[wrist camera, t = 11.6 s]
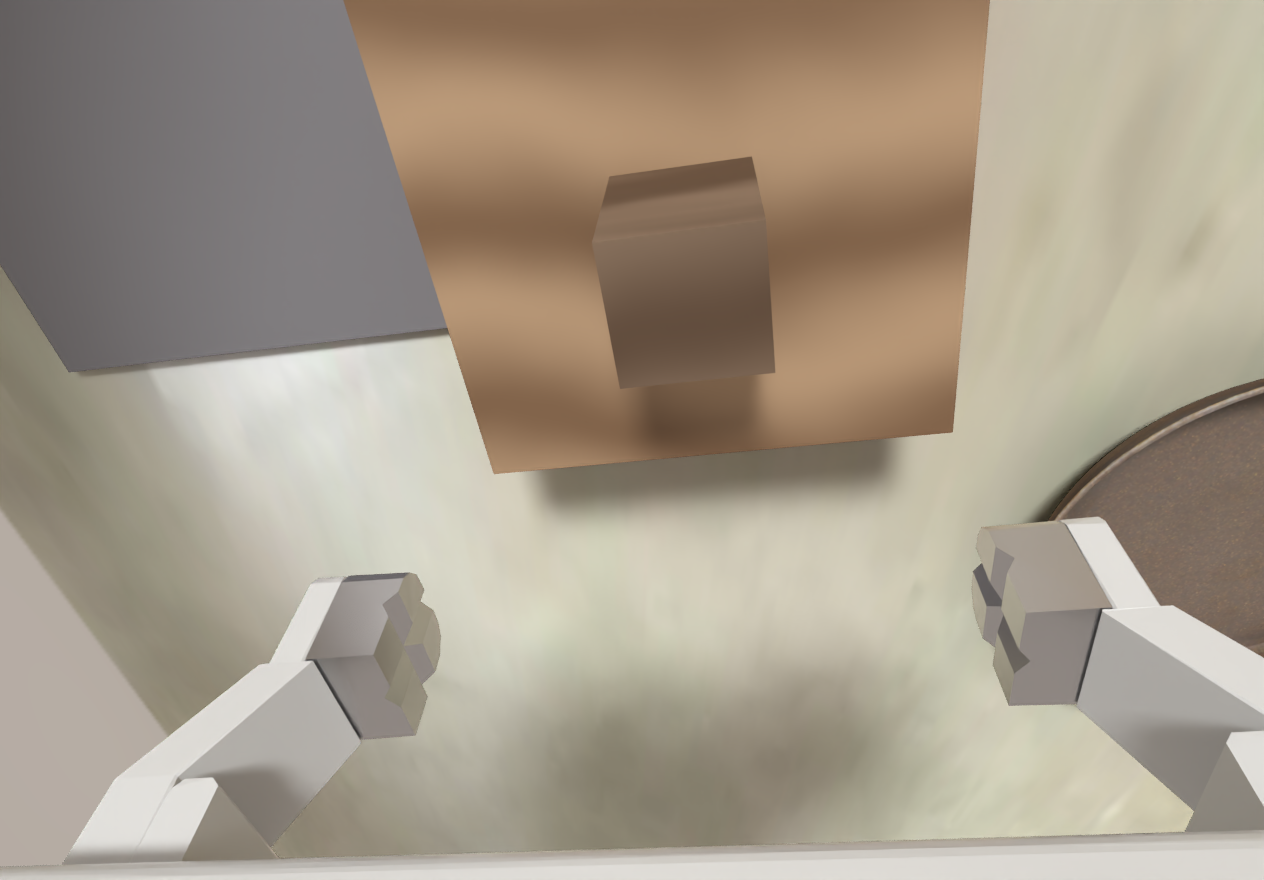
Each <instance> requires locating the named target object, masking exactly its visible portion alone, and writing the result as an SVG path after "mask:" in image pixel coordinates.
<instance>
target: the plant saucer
mask: <svg viewBox="0 0 1264 880" xmlns="http://www.w3.org/2000/svg"><path fill="white" fill-rule="evenodd" d="M1088 517H1100V518H1101V519H1103V520H1105V521H1106V522H1107V524H1108V526H1109V527H1110V529H1111V530H1112V532H1113V533H1114V535H1115V536H1116V538H1117V539H1118V541H1119V542H1120V544H1121V546H1122V547H1123V549H1124V550H1125V552H1126V553H1127V555H1128V556H1129V558H1130V559H1131V561H1132V563H1133V564H1134V566H1135V567H1136V569H1137V570H1138V572H1139V573H1140V575H1141V576H1142V578H1143V579H1144V581H1145V583H1146V584H1147V586H1148V587H1149V589H1150V590H1151V592H1152V593H1153V595H1154V596H1155V598H1156V600H1157V601H1158V603H1159V604H1160V606H1171V605H1173V606H1175V607H1177V608H1178V609H1180V610H1182V611H1184V612H1185V613H1187V614H1189V615H1191V616H1192V617H1194V618H1196V619H1197V620H1199V621H1201V622H1203V623H1204V624H1206V625H1208V626H1210V627H1211V628H1213V629H1215V630H1216V631H1218V632H1220V633H1222V634H1223V635H1225V636H1227V637H1229V638H1230V639H1232V640H1234V641H1236V642H1237V643H1239V644H1241V645H1242V646H1244V647H1246V648H1248V649H1249V650H1251V651H1253V652H1255V653H1256V654H1258V655H1260V656H1261V657H1263V658H1264V379H1260V380H1256V381H1253V382H1250V383H1246V384H1243V385H1239V386H1236V387H1232V388H1230V389H1227V390H1224V391H1221V392H1219V393H1216V394H1213V395H1210V396H1207V397H1205V398H1203V399H1200V400H1198V401H1196V402H1193V403H1191V404H1189V405H1186V406H1184V407H1182V408H1180V409H1178V410H1176V411H1174V412H1172V413H1170V414H1168V415H1166V416H1164V417H1162V418H1161V419H1159V420H1157V421H1155V422H1154V423H1152V424H1150V425H1149V426H1147V427H1145V428H1144V429H1142V430H1140V431H1139V432H1137V433H1136V434H1134V435H1132V436H1131V437H1129V438H1128V439H1127V440H1125V441H1124V442H1123V443H1121V444H1120V445H1119V446H1117V447H1116V448H1115V449H1113V450H1112V451H1111V452H1109V453H1108V454H1107V455H1106V456H1105V457H1104V458H1102V459H1101V460H1100V461H1099V462H1098V463H1097V464H1096V465H1094V466H1093V467H1092V468H1091V469H1090V470H1089V471H1088V472H1087V473H1086V474H1085V475H1084V476H1083V477H1082V478H1081V479H1080V480H1079V481H1078V482H1077V483H1076V484H1075V486H1074V487H1073V488H1072V489H1071V490H1070V491H1069V492H1068V494H1067V495H1066V496H1065V497H1064V499H1063V500H1062V501H1061V502H1060V504H1059V505H1058V506H1057V508H1056V509H1055V511H1054V512H1053V514H1052V515H1051V517H1050V518H1049V520H1048V521H1059V520H1066V519H1077V518H1088Z"/></svg>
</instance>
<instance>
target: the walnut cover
mask: <svg viewBox="0 0 1264 880" xmlns="http://www.w3.org/2000/svg"><path fill="white" fill-rule="evenodd" d="M343 1H344V4H345V8H346V11H347V14H348V17H349V20H350V23H351V26H352V30H353V33H354V36H355V39H356V42H357V45H358V48H359V52H360V55H361V58H362V61H363V64H364V67H365V70H366V74H367V77H368V80H369V83H370V86H371V89H372V92H373V96H374V99H375V102H376V105H377V108H378V111H379V114H380V118H381V121H382V124H383V127H384V130H385V133H386V136H387V140H388V143H389V146H390V149H391V152H392V155H393V158H394V162H395V165H396V168H397V171H398V174H399V177H400V180H401V184H402V187H403V190H404V193H405V196H406V199H407V202H408V206H409V209H410V212H411V215H412V218H413V221H414V224H415V228H416V231H417V234H418V237H419V240H420V243H421V246H422V250H423V253H424V256H425V259H426V262H427V265H428V268H429V272H430V275H431V278H432V281H433V284H434V287H435V290H436V294H437V297H438V300H439V303H440V306H441V309H442V312H443V316H444V319H445V322H446V325H447V328H448V331H449V334H450V338H451V341H452V344H453V347H454V350H455V353H456V356H457V360H458V363H459V366H460V369H461V372H462V375H463V378H464V382H465V385H466V388H467V391H468V394H469V397H470V400H471V404H472V407H473V410H474V413H475V416H476V419H477V422H478V426H479V429H480V432H481V435H482V438H483V441H484V444H485V448H486V451H487V454H488V457H489V460H490V463H491V466H492V470H493V473H494V474H499V473H510V472H521V471H532V470H543V469H555V468H566V467H577V466H588V465H599V464H610V463H621V462H632V461H643V460H654V459H665V458H676V457H687V456H698V455H709V454H720V453H731V452H742V451H753V450H764V449H775V448H786V447H797V446H808V445H819V444H830V443H841V442H852V441H863V440H874V439H885V438H896V437H907V436H918V435H929V434H940V433H951V432H953V423H954V411H955V400H956V388H957V376H958V365H959V353H960V341H961V330H962V318H963V307H964V295H965V283H966V272H967V260H968V248H969V237H970V225H971V213H972V202H973V190H974V178H975V167H976V155H977V143H978V132H979V120H980V109H981V97H982V85H983V74H984V62H985V50H986V39H987V27H988V15H989V4H990V0H343Z"/></svg>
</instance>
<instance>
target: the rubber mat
mask: <svg viewBox="0 0 1264 880" xmlns="http://www.w3.org/2000/svg"><path fill="white" fill-rule="evenodd" d="M0 265H1V267H2V268H3V270H4V271H5V273H6V274H7V276H8V278H9V279H10V281H11V282H12V284H13V285H14V287H15V288H16V290H17V292H18V293H19V295H20V296H21V298H22V299H23V301H24V303H25V304H26V306H27V307H28V309H29V310H30V312H31V314H32V315H33V317H34V318H35V320H36V321H37V323H38V325H39V326H40V328H41V329H42V331H43V332H44V334H45V336H46V337H47V339H48V340H49V342H50V343H51V345H52V346H53V348H54V350H55V351H56V353H57V354H58V356H59V357H60V359H61V361H62V362H63V364H64V365H65V367H66V368H67V370H68V372H76V371H85V370H93V369H102V368H110V367H119V366H127V365H136V364H144V363H153V362H161V361H170V360H179V359H187V358H196V357H204V356H213V355H221V354H230V353H238V352H247V351H255V350H264V349H272V348H281V347H289V346H298V345H306V344H315V343H323V342H332V341H340V340H349V339H357V338H366V337H374V336H383V335H391V334H400V333H408V332H417V331H425V330H434V329H443V328H447V325H446V322H445V319H444V316H443V312H442V309H441V306H440V303H439V300H438V297H437V294H436V290H435V287H434V284H433V281H432V278H431V275H430V272H429V268H428V265H427V262H426V259H425V256H424V253H423V250H422V246H421V243H420V240H419V237H418V234H417V231H416V228H415V224H414V221H413V218H412V215H411V212H410V209H409V206H408V202H407V199H406V196H405V193H404V190H403V187H402V184H401V180H400V177H399V174H398V171H397V168H396V165H395V162H394V158H393V155H392V152H391V149H390V146H389V143H388V140H387V136H386V133H385V130H384V127H383V124H382V121H381V118H380V114H379V111H378V108H377V105H376V102H375V99H374V96H373V92H372V89H371V86H370V83H369V80H368V77H367V74H366V70H365V67H364V64H363V61H362V58H361V55H360V52H359V48H358V45H357V42H356V39H355V36H354V33H353V30H352V26H351V23H350V20H349V17H348V14H347V11H346V8H345V4H344V1H343V0H0Z"/></svg>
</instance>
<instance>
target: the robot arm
mask: <svg viewBox="0 0 1264 880" xmlns="http://www.w3.org/2000/svg"><path fill="white" fill-rule="evenodd" d="M976 550H977V552H978V555H979V557H980V559H981V562H982V563H981V564H980V565H979V566H978V567H977V568H976V569H975V570H974V571H973V577H972V600H973V609H974V613H975V617H976V621H977V624H978V627H979V630H980V632H981V635H982V638H983V639H985V640H986V641H987V642H989V643H990V644H991V645H993V646H994V647H995V652H994V659H993V667H994V669H995V672H996V674H997V677H998V679H999V682H1000V685H1001V687H1002V690H1003V692H1004V695H1005V697H1006V700H1007V702H1008V705H1009V706H1015V705H1055V704H1077V708H1078V709H1079V710H1080V711H1081V712H1083V713H1084V714H1085V715H1086V716H1087V717H1088V718H1089V719H1091V720H1092V721H1093V722H1094V723H1095V724H1096V725H1097V726H1098V727H1100V728H1101V729H1102V730H1103V731H1104V732H1105V733H1106V734H1108V735H1109V736H1110V737H1111V738H1112V739H1113V740H1114V741H1115V742H1117V743H1118V744H1119V745H1120V746H1121V747H1122V748H1123V749H1124V750H1126V751H1127V752H1128V753H1129V754H1130V755H1131V756H1132V757H1134V758H1135V759H1136V760H1137V761H1138V762H1139V763H1140V764H1141V765H1143V766H1144V767H1145V768H1146V769H1147V770H1148V771H1149V772H1151V773H1152V774H1153V775H1154V776H1155V777H1156V778H1157V779H1158V780H1160V781H1161V782H1162V783H1163V784H1164V785H1165V786H1166V787H1167V788H1169V789H1170V790H1171V791H1172V792H1173V793H1174V794H1175V795H1177V796H1178V797H1179V798H1180V799H1181V800H1182V801H1183V802H1184V803H1186V804H1187V805H1188V806H1189V807H1190V808H1191V809H1192V810H1194V813H1193V815H1192V817H1191V819H1190V822H1189V824H1188V826H1187V828H1186V830H1185V832H1168V833H1134V834H1100V835H1065V836H1031V837H997V838H963V839H930V840H897V841H864V842H831V843H798V844H765V845H732V846H698V847H663V848H628V849H593V850H558V851H523V852H488V853H454V854H420V855H386V856H351V857H317V858H282V859H280V858H279V857H278V856H277V855H276V853H275V852H274V851H273V850H272V848H271V846H272V845H273V844H274V843H275V842H276V841H277V839H278V838H279V837H280V836H281V835H282V834H283V833H284V831H285V830H286V829H287V828H288V827H289V826H290V825H291V823H292V822H293V821H294V820H295V819H296V818H297V816H298V815H299V814H300V813H301V812H302V811H303V810H304V808H305V807H306V806H307V805H308V804H309V803H310V802H311V800H312V799H313V798H314V797H315V796H316V795H317V793H318V792H319V791H320V790H321V789H322V788H323V787H324V785H325V784H326V783H327V782H328V781H329V780H330V779H331V777H332V776H333V775H334V774H335V773H336V772H337V770H338V769H339V768H340V767H341V766H342V765H343V764H344V762H345V761H346V760H347V759H348V758H349V757H350V756H351V754H352V753H353V752H354V751H355V750H356V749H357V747H358V746H359V745H360V744H361V740H363V739H376V738H388V737H401V736H413V735H416V732H417V729H418V726H419V723H420V720H421V716H422V713H423V710H424V707H425V703H426V700H427V697H428V696H427V694H426V692H425V690H424V688H423V686H422V684H423V683H424V682H425V681H426V680H427V679H428V678H429V677H430V676H431V675H432V674H433V673H434V672H435V671H436V667H437V663H438V660H439V656H440V641H441V635H440V629H439V624H438V620H437V618H436V616H435V613H434V611H433V610H432V609H431V608H429V607H428V606H426V605H425V604H423V603H422V602H420V601H421V598H422V595H423V592H424V588H423V586H422V584H421V582H420V580H419V578H418V576H417V575H416V574H413V573H392V574H374V575H355V576H348V577H330V578H318V579H317V580H315V581H314V582H313V583H311V584H310V586H309V587H308V589H307V591H306V593H305V595H304V597H303V599H302V601H301V603H300V605H299V607H298V609H297V610H296V612H295V614H294V616H293V618H292V620H291V622H290V624H289V626H288V628H287V630H286V632H285V634H284V636H283V637H282V639H281V641H280V643H279V645H278V647H277V649H276V651H275V653H274V655H273V657H272V659H271V661H270V663H268V664H259V665H258V666H257V667H255V668H254V669H253V670H252V671H250V672H249V673H248V674H247V675H245V676H244V677H243V678H242V679H240V680H239V681H238V682H237V683H235V684H234V685H233V686H232V687H230V688H229V689H228V690H226V691H225V692H224V693H223V694H221V695H220V696H219V697H218V698H216V699H215V700H214V701H213V702H211V703H210V704H209V705H208V706H206V707H205V708H204V709H202V710H201V711H200V712H199V713H197V714H196V715H195V716H194V717H192V718H191V719H190V720H189V721H187V722H186V723H185V724H184V725H182V726H181V727H180V728H179V729H177V730H176V731H175V732H173V733H172V734H171V735H170V736H168V737H167V738H166V739H165V740H163V741H162V742H161V743H160V744H158V745H157V746H156V747H155V748H153V749H152V750H151V751H150V752H148V753H147V754H146V755H144V756H143V757H142V758H141V759H139V760H138V761H137V762H136V763H134V764H133V765H132V766H131V767H129V768H128V769H127V770H126V771H124V772H123V773H122V774H120V775H119V776H118V777H117V778H116V779H115V780H114V781H113V783H112V784H111V786H110V788H109V789H108V791H107V793H106V794H105V796H104V797H103V799H102V801H101V803H100V804H99V805H98V807H97V809H96V810H95V812H94V813H93V815H92V817H91V819H90V820H89V822H88V823H87V825H86V826H85V828H84V830H83V831H82V833H81V834H80V836H79V838H78V839H77V841H76V843H75V844H74V846H73V847H72V849H71V851H70V852H69V854H68V855H67V857H66V859H65V860H64V862H63V864H62V865H42V866H41V865H40V866H6V867H0V880H1264V658H1263V657H1261V656H1260V655H1258V654H1256V653H1255V652H1253V651H1251V650H1249V649H1248V648H1246V647H1244V646H1242V645H1241V644H1239V643H1237V642H1236V641H1234V640H1232V639H1230V638H1229V637H1227V636H1225V635H1223V634H1222V633H1220V632H1218V631H1216V630H1215V629H1213V628H1211V627H1210V626H1208V625H1206V624H1204V623H1203V622H1201V621H1199V620H1197V619H1196V618H1194V617H1192V616H1191V615H1189V614H1187V613H1185V612H1184V611H1182V610H1180V609H1178V608H1177V607H1175V606H1173V605H1171V606H1160V604H1159V603H1158V601H1157V600H1156V598H1155V596H1154V595H1153V593H1152V592H1151V590H1150V589H1149V587H1148V586H1147V584H1146V583H1145V581H1144V579H1143V578H1142V576H1141V575H1140V573H1139V572H1138V570H1137V569H1136V567H1135V566H1134V564H1133V563H1132V561H1131V559H1130V558H1129V556H1128V555H1127V553H1126V552H1125V550H1124V549H1123V547H1122V546H1121V544H1120V542H1119V541H1118V539H1117V538H1116V536H1115V535H1114V533H1113V532H1112V530H1111V529H1110V527H1109V526H1108V524H1107V522H1106V521H1105V520H1103V519H1101V518H1100V517H1088V518H1077V519H1066V520H1059V521H1046V522H1035V523H1023V524H1012V525H1001V526H989V527H981V529H980V531H979V533H978V537H977V544H976Z"/></svg>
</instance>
